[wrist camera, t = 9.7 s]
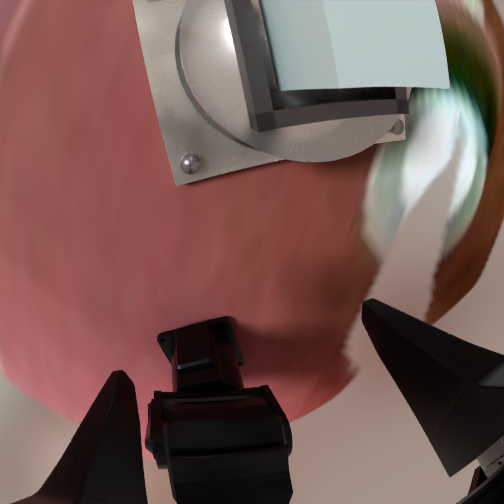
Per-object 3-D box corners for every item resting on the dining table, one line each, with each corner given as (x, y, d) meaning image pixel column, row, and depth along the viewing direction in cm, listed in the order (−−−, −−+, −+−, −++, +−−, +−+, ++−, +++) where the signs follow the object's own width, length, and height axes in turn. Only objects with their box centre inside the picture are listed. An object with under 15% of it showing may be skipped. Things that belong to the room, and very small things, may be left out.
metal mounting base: (397, 137, 20) (457, 157, 14) (176, 182, 18) (174, 220, 13) (371, -25, 13) (426, -46, 7) (132, -12, 11) (112, -56, 6)
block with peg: (365, 83, 13) (449, 88, 8) (277, 91, 12) (339, 88, 7) (341, -30, 9) (412, -65, 4) (249, -33, 9) (291, -94, 4)
